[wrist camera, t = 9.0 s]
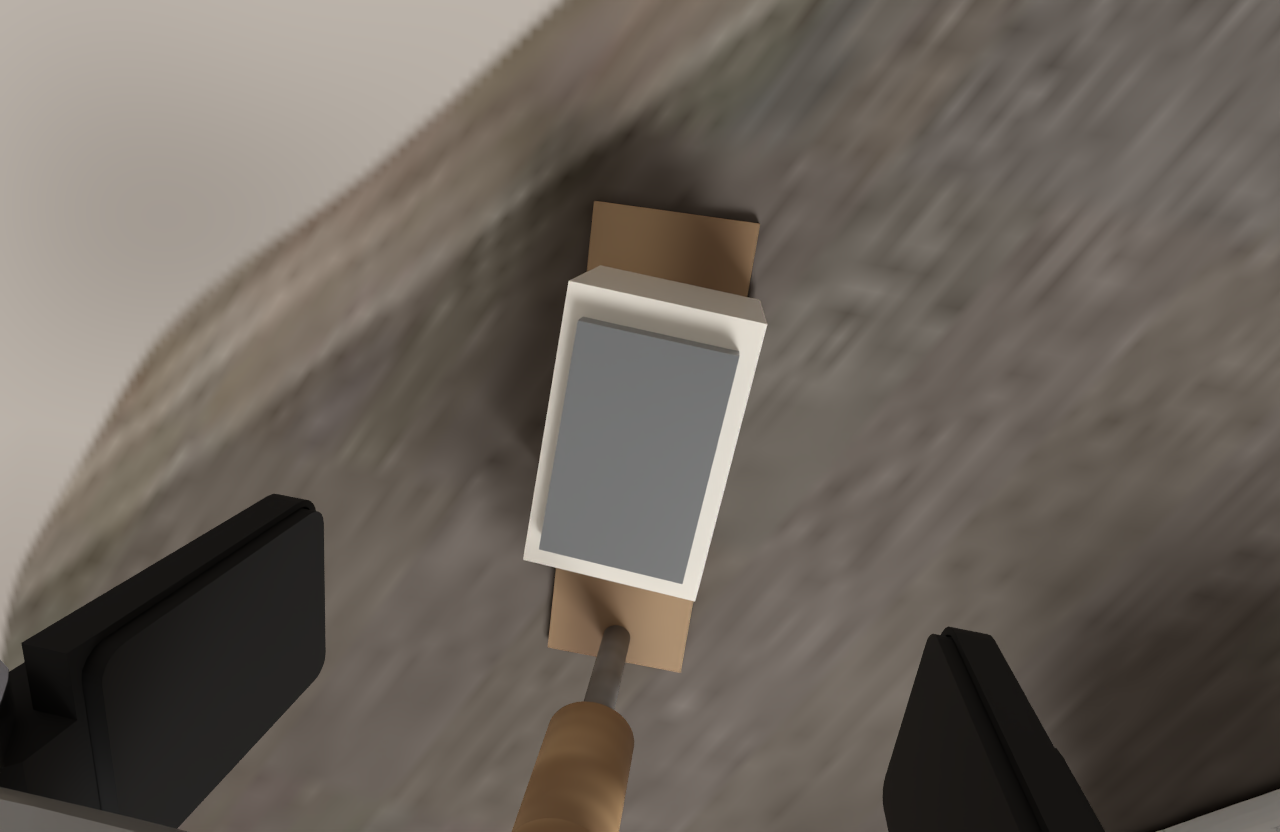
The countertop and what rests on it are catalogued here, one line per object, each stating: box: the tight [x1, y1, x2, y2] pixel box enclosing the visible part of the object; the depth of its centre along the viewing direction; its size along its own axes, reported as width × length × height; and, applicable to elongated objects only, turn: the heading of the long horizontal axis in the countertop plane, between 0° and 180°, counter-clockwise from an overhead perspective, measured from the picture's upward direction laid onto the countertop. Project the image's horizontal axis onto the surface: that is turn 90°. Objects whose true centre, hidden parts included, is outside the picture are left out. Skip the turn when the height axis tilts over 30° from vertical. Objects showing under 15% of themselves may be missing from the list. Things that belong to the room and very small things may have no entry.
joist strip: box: [548, 201, 760, 673], centre depth 23 cm, size 5×16×1 cm, turn 173°
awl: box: [512, 625, 634, 832], centre depth 20 cm, size 3×3×10 cm
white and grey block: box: [523, 265, 767, 601], centre depth 20 cm, size 5×8×5 cm, turn 169°
